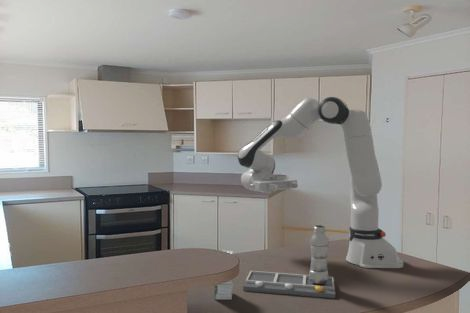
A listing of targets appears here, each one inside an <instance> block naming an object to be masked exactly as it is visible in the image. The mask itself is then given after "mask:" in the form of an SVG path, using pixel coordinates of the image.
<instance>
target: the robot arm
mask: <svg viewBox="0 0 470 313" xmlns="http://www.w3.org/2000/svg"><path fill="white" fill-rule="evenodd" d="M367 115H368V114H367V113H366V112H365V111H364V110H361V109H349V108H348V104H346V102H345V101H344V100H343V99H341V98H339V97H336V96H329V97H328V96H327V97H326V98H323V100H322V101H321V102H320V101H318V100H317V99H315V98H313V97H305V98H304V99H303V100H301V101H300V102H299V103H297V105H296V106H294V108H293V109H292V110H291V111H290V112H289V113H288V114H287V115H286V116H285V117H283V118H281V119H279V120H274V121H272V122H271V123H269V125H268V126H267V127H265V128H264V129H263V130H262V131H261V132H260V133H259V134H258V135H256V136H255V137H254V138H253V139H252V140H251V141H249V142H248V143H246V144H244V146H242V147H241V148H240V149H239V151H238V153H237V159H238V160H237V161H238V163H239V165H240V166H242V167H245V168H247V169H248V170H247V171H244V172H243V173H242V174H241V176H240V182H241V185H242V187H244V188H245V189H247V190H250V191H254V192H259V193H263V194H268V195H269V194H272V193H274V192H277V191H282V190H288V189H290V190H291V189H298V180H297V179H296V178H292V177H288V176H284V175H283V174H275V173H274V172H275V169H276V160H275V158H274V157H273V156H272V155H269V154H268V153H266V152H264V151H262V150H261V149H262V148H263V147H265V146H266V145H267V144H268V143H269V142H270V141H272V140H273V139H277V138H285V139H291V140H292V139H293V140H295V139H299V138H302V137H303V136H304V135H305V134H306V133H307V132H308V131H309V130H310V128H312V126H313V125H314V124H315V123H316V122H317V121H319V120H322V121H323V122H325V123H328V124H331V125H334V124H335V125H339V126H341V128H342V131H343V138H344V144H345V149H346V150H345V151H346V156H347V160H348V166H349V169H350V176H349V192H350V194H349V196H350V226H349V228H348V238H349V244H348V249H347V254H346V257H345V261H347V262H348V263H350V264H354V265H356V266H360V267H362V268H365V269H402V268H404V261H403V259H401V258H399V257H398V254H397V250H396V248H395V246H394V245H392V244H391V243H390V242H389V241H387V240H386V239H385V237H386V236H387V235H386V232H385V231H383V230H382V229H381V228H379V210H380V209H379V204H378V194H379V193H380V192H381V190H382V186H383V184H382V177H381V173H380V168H379V164H378V160H377V156H376V153H375V146H374V138H373V133H372V127H371V124H370V120H369V117H368V116H367Z"/></svg>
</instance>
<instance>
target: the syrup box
mask: <svg viewBox="0 0 470 313" xmlns="http://www.w3.org/2000/svg"><path fill="white" fill-rule="evenodd" d="M222 251H223V252H227V253H230V254H233V255H234V251H231V250H222ZM233 289H234V279H233V280H231V281H229V282H226V283H223V284H221V285H218V286H215V285H214V297H213V298H214V300H217V301H218V300H219V301H220V300H224V301H226V300H232V299H233V292H234V291H233Z"/></svg>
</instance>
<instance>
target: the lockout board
mask: <svg viewBox="0 0 470 313" xmlns="http://www.w3.org/2000/svg"><path fill="white" fill-rule="evenodd" d="M242 291H243V292H256V293H267V294H268V293H269V294H276V295H277V294H280V295H288V294H289V295H290V296H299V295H300V297H302V296H303V297H314V298H325V299H326V298H327V299H336V288H335V279H334V276H329V277H328V281H327V283H325V284H314V283H312V282H311V281H310V279H309V274H300V273H286V272H273V271H261V270H260V271H257V270H250V271H249V273H248V275H247V277H246V279H245V281H244V283H243V288H242Z"/></svg>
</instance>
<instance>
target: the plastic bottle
mask: <svg viewBox="0 0 470 313" xmlns="http://www.w3.org/2000/svg"><path fill="white" fill-rule="evenodd" d="M313 232H314V233H313V234H312V236H311V237H310V240H309V245H310V258H311V260H310V267H309V268H310V269H309V273H308V275H309V279H310V281H311V282H312V283H314V284H325V283H327V281H328V277H330V276H329V272H328V254H329V252H328V251H329V246H330V241H329V240H330V239H329V237H328V236H327V234H326V226H325V225H319V224H317V225H316V224H315V225H314V226H313Z"/></svg>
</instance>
